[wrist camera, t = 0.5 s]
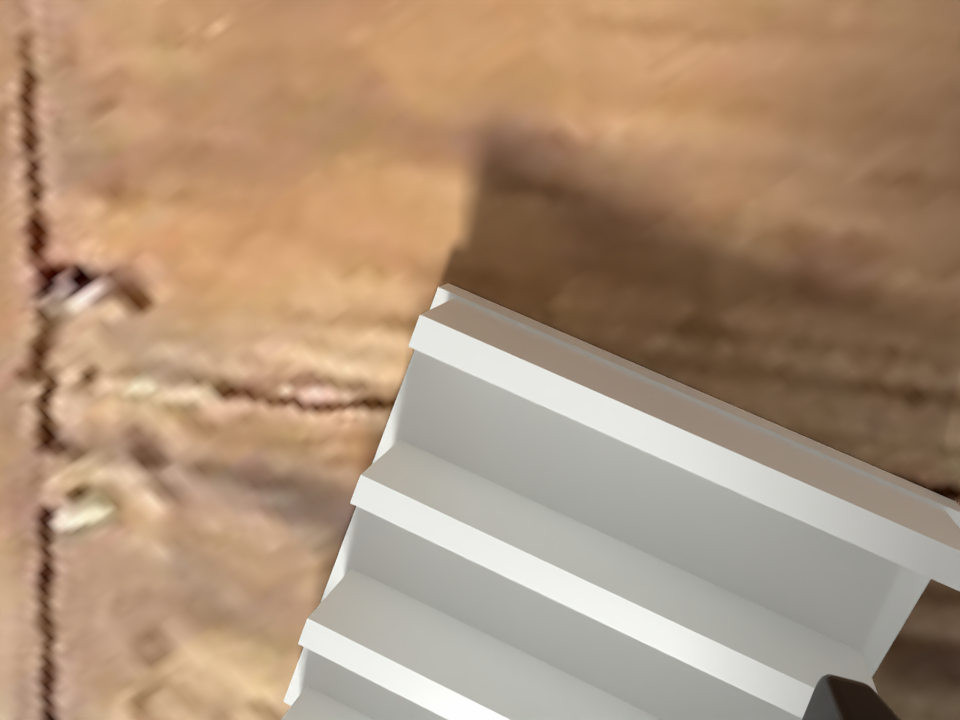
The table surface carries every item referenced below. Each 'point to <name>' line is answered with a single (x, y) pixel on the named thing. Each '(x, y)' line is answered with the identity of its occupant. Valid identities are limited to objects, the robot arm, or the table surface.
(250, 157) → the table surface
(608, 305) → the table surface
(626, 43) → the table surface
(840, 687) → the robot arm
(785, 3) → the table surface
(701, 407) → the dish rack
